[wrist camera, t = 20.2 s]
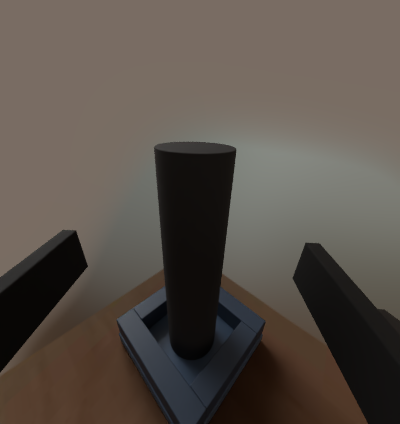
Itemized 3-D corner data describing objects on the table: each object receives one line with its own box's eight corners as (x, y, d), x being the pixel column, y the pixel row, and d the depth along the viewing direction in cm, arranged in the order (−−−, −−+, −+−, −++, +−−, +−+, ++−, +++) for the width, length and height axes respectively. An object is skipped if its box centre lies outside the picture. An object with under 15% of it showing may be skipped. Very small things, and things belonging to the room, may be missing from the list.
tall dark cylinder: (160, 332, 16) (138, 144, 9) (194, 305, 19) (198, 140, 12) (189, 373, 14) (191, 157, 6) (223, 335, 16) (252, 148, 9)
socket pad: (120, 339, 17) (114, 319, 15) (193, 283, 23) (193, 265, 21) (187, 456, 11) (187, 440, 10) (261, 340, 17) (267, 321, 16)
